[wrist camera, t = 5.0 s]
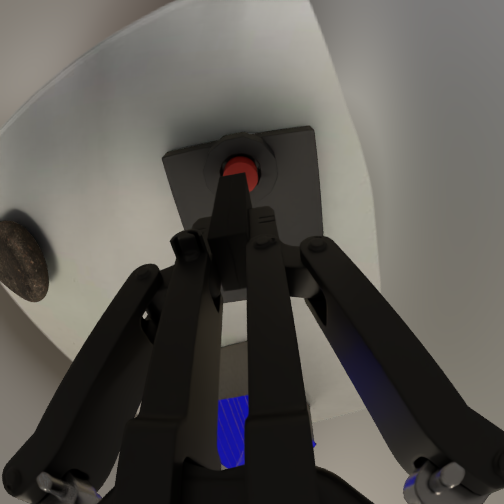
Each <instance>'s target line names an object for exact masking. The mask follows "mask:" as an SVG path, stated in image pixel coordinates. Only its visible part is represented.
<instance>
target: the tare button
mask: <svg viewBox="0 0 504 504" xmlns="http://www.w3.org/2000/svg"><path fill="white" fill-rule="evenodd" d="M243 172H245V173H246V178H247V183H248V188H249V192H250V191H252V190H253V189H254V188H255V186H256V185H257V182H258V174H257V167H256V165H255V163H254V162H253V161H252V160H251V159H249V158H247V157H244V156H237V157H234V158H232V159H230V160H229V161H228V162H227V164H226V166H225V169H224V173H223V176H227V175H232V174H238V173H243Z"/></svg>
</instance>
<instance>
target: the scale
mask: <svg viewBox="0 0 504 504" xmlns="http://www.w3.org/2000/svg"><path fill="white" fill-rule="evenodd" d="M237 156H244V157H247V158H249V159H251V160H252V161H253V162H254V163H255V165H256V167H257V174H258V182H257V185H256V186H255V188H254V189H253V190H252V191H250V192H249V193H250V198H251V203H252V208H256V207H262V206H270V207H271V208H272V209H273V210H274V214H275V219H276V225H277V230H278V235H279V239H280V240H281V241H282V242H283V243H285V244H287V245H291V246H300V243H301V242H302V241H303V240H304V239H306V238H308V237H311V236H323V222H322V206H321V193H320V181H319V169H318V159H317V149H316V140H315V132H314V129H313V128H312V127H310V126H303V127H295V128H288V129H281V130H274V131H267V132H261V133H255V134H249V133H246V132H240V133H234V134H229V135H225V136H223V137H222V138H221V139H220V140H218V141H213V142H208V143H204V144H199V145H195V146H190V147H186V148H182V149H178V150H174V151H170V152H167V153H166V154H165V155H164V156H163V157H162V161H163V165H164V168H165V171H166V175H167V178H168V181H169V184H170V187H171V191H172V194H173V197H174V200H175V203H176V206H177V209H178V212H179V215H180V218H181V221H182V224H183V227H184V230H188V229H192V226H193V224H194V223H195V222H196V221H197V219H199V218H204V217H210V216H212V211H213V206H214V201H215V196H216V191H217V186H218V181H219V177H222V176H223V173H224V169H225V166H226V164H227V162H228V161H229V160H230V159H232V158H234V157H237ZM221 293H222V296H223V303H227V302H235V301H242V300H247V288H246V289H239V290H232V291H225V292H224V290H223V287H222V284H221Z"/></svg>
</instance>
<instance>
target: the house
mask: <svg viewBox="0 0 504 504" xmlns="http://www.w3.org/2000/svg"><path fill="white" fill-rule="evenodd" d="M306 404H307V410H308V414H309V420H310V427H311V435H312V443H313V448H314V447H315V445H316V443H315V442H314V435H313V428H312V420H311V413H310V406H309V405H308V403H307V402H306ZM248 410H249V407H248V352H247V341H246V342H242V343H238V344H234V345H230V346H226V347H222V348H221V351H220V372H219V396H218V425H217V449H218V453H219V456H220V461H221V464H222V465H224V466H225V467H226V468H228V469H229V468H233V467H237V466H240V465H244V464H245V458H244V425H245V420H246V418H247V417H248Z"/></svg>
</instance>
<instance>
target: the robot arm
mask: <svg viewBox="0 0 504 504" xmlns="http://www.w3.org/2000/svg"><path fill="white" fill-rule="evenodd" d="M170 243H171V245H172V248H173V251H174V253H175V256H176V261H175V265H173V266H170V267H168V268H165V269H163V270H159V268H158V266H157V265H155V264H145V265H142V266H140V267H138V268H137V269H135V270H134V271H133V272H132V273H131V275H130V276H129V277H128V279H127V280H126V282H125V283H124V284H123V286H122V287H121V289H120V290H119V292H118V293H117V294H116V296H115V297H114V299H113V300H112V302H111V303H110V305H109V306H108V308H107V309H106V311H105V312H104V314H103V315H102V317H101V318H100V320H99V321H98V323H97V324H96V326H95V327H94V329H93V330H92V332H91V334H90V335H89V337H88V338H87V340H86V342H85V343H84V345H83V346H82V348H81V350H80V351H79V353H78V354H77V356H76V358H75V359H74V361H73V363H72V364H71V366H70V368H69V370H68V372H67V373H66V375H65V376H64V378H63V380H62V382H61V383H60V385H59V387H58V389H57V391H56V392H55V394H54V396H53V398H52V400H51V401H50V403H49V405H48V407H47V409H46V411H45V413H44V415H43V417H42V419H41V421H40V423H39V424H38V426H37V429H36V431H35V433H34V434H33V435H32V436H31V437H30V438H29V439H28V440H27V441H26V443H25V444H24V445H23V446H22V447H21V448H20V449H19V450H18V451H17V453H16V454H15V455H14V456H13V457H12V458H11V460H9V462H8V463H7V464H6V466H5V467H4V469H3V474H2V481H3V485H4V488H5V490H6V491H7V492H8V494H10V495H12V496H13V497H15V498H18V499H20V500H22V501H25V502H27V503H30V504H374V503H373V502H371V501H370V500H369V499H367V498H366V497H365V496H364V495H362V494H361V493H360V492H358V491H357V490H356V489H355V488H353V487H352V486H351V485H349V484H348V483H347V482H346V481H345V480H343V479H342V478H341V477H339V476H338V475H336V474H334V473H333V472H330V471H328V470H326V469H324V468H321V467H318V466H315V459H314V451H313V443H312V435H311V427H310V420H309V414H308V410H307V404H306V397H305V390H304V383H303V376H302V369H301V363H300V356H299V350H298V343H297V337H296V331H295V324H294V318H293V312H292V306H291V300H290V297H301V298H304V299H305V302H306V304H307V306H308V307H309V309H310V311H311V312H312V314H313V316H314V318H315V319H316V321H317V323H318V324H319V326H320V328H321V329H322V331H323V333H324V335H325V336H326V338H327V340H328V341H329V343H330V345H331V347H332V348H333V350H334V352H335V353H336V355H337V357H338V359H339V360H340V362H341V364H342V366H343V367H344V369H345V371H346V373H347V374H348V376H349V378H350V380H351V381H352V383H353V385H354V387H355V388H356V390H357V392H358V394H359V395H360V397H361V399H362V401H363V402H364V404H365V406H366V408H367V409H368V411H369V413H370V415H371V416H372V418H373V420H374V422H375V424H376V426H377V427H378V429H379V431H380V433H381V434H382V436H383V438H384V440H385V442H386V443H387V445H388V447H389V449H390V450H391V452H392V454H393V455H394V457H395V458H396V460H397V461H398V463H399V464H400V465H401V466H402V468H403V469H404V470H405V471H406V472H407V473H408V474H409V475H410V476H409V477H408V478H407V480H406V482H405V485H404V489H403V494H404V499H405V500H406V502H407V503H408V504H483V503H484V502H485V500H486V499H487V497H488V496H489V495H490V494H491V493H493V492H496V491H498V490H501V489H503V488H504V431H503V430H501V429H500V428H498V427H497V426H495V425H494V424H493V423H491V422H490V421H488V420H487V419H485V418H484V417H483V416H481V415H480V414H478V413H477V412H475V411H474V410H472V409H471V408H470V407H468V406H467V405H466V403H465V401H464V400H463V399H462V397H461V396H460V394H459V393H458V391H457V390H456V389H455V387H454V386H453V384H452V383H451V382H450V381H449V379H448V378H447V376H446V375H445V374H444V372H443V371H442V370H441V368H440V367H439V366H438V364H437V363H436V362H435V360H434V359H433V358H432V356H431V355H430V354H429V353H428V351H427V350H426V349H425V347H424V346H423V345H422V343H421V342H420V341H419V340H418V338H417V337H416V336H415V335H414V333H413V332H412V331H411V330H410V329H409V327H408V326H407V325H406V323H405V322H404V321H403V320H402V319H401V317H400V316H399V315H398V314H397V313H396V311H395V310H394V309H393V308H392V307H391V305H390V304H389V303H388V302H387V301H386V300H385V298H384V297H383V296H382V295H381V294H380V292H379V291H378V290H377V289H376V288H375V287H374V285H373V284H372V283H371V282H370V281H369V280H368V279H367V277H366V276H365V275H364V274H363V273H362V272H361V271H360V270H359V268H358V267H357V266H356V265H355V264H354V263H353V262H352V261H351V259H350V258H349V257H348V256H347V255H346V254H345V253H344V252H343V251H342V250H341V249H340V247H339V246H338V245H337V244H336V243H335V242H334V241H333V240H332V239H330V238H329V237H325V236H311V237H308V238H306V239H304V240H303V241H302V242H301V243H300V246H291V245H287V244H285V243H283V242H282V241H281V240H280V239H279V235H278V230H277V225H276V219H275V214H274V210H273V209H272V208H271V207H270V206H262V207H256V208H252V203H251V198H250V193H249V188H248V183H247V178H246V173H245V172H243V173H238V174H232V175H227V176H222V177H219V181H218V186H217V191H216V196H215V201H214V206H213V211H212V216H210V217H204V218H199V219H197V221H196V222H195V223H194V224H193V226H192V229H188V230H184V231H181V232H179V233H177V234H176V235H175V236H173V237H172V239H171V240H170ZM221 284H222V287H223V290H224V292H225V291H232V290H239V289H246V288H247V352H248V407H249V410H248V417H247V418H246V420H245V425H244V458H245V464H244V465H240V466H237V467H233V468H229V469H225V470H221V461H220V456H219V453H218V449H217V425H218V396H219V372H220V351H221V332H222V314H223V296H222V293H221ZM145 311H146V312H147V314H148V315H147V317H146V318H145V319H144V318H143V317H142V316H143V314H144V312H145ZM141 401H142V402H141ZM140 403H141V407H140V412H139V415H138V416H137V417H136V418H134V417H135V414H136V412H137V410H138V407H139V405H140ZM119 452H120V454H119ZM118 454H119V461H118V467H117V474H116V481H115V486H114V487H113V489H111V490H110V491H109V492H108V493H107V494H106V495H105V496H104V497H103V498H102V497H101V496H100V495H99V494H97V492H98V490H99V489H100V488H101V487H102V485H103V484H104V482H105V481H106V479H107V478H108V476H109V474H110V472H111V470H112V468H113V466H114V464H115V461H116V459H117V456H118Z"/></svg>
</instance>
